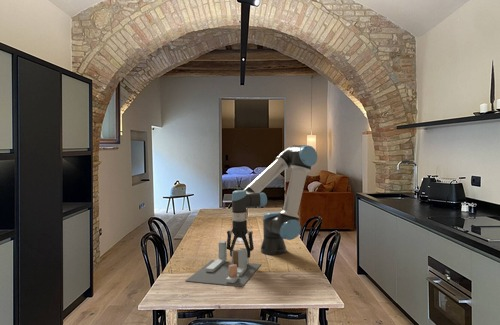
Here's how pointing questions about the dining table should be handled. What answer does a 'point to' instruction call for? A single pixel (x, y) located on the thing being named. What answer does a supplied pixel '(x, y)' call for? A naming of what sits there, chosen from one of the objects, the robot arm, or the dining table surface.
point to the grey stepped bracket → (221, 258)
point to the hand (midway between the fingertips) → (240, 263)
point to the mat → (222, 275)
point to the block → (236, 257)
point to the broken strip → (239, 265)
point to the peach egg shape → (232, 270)
